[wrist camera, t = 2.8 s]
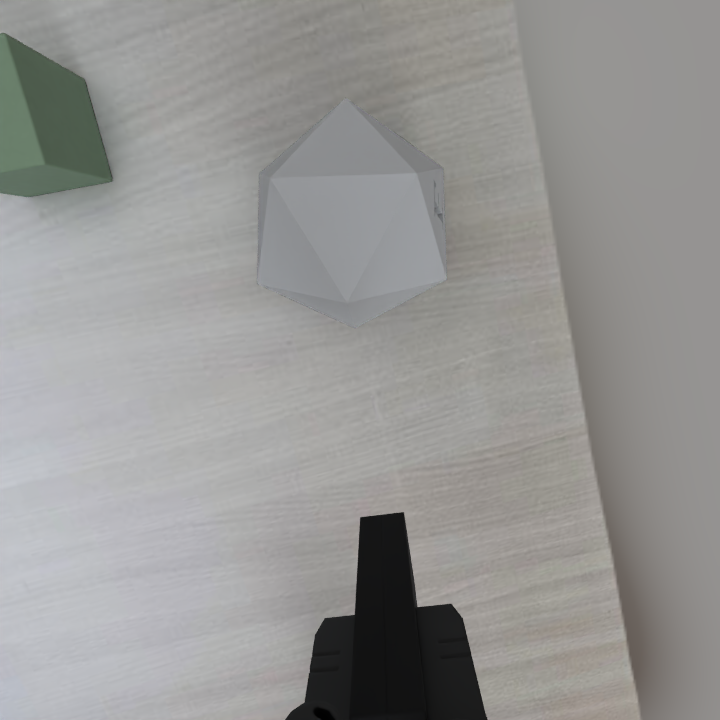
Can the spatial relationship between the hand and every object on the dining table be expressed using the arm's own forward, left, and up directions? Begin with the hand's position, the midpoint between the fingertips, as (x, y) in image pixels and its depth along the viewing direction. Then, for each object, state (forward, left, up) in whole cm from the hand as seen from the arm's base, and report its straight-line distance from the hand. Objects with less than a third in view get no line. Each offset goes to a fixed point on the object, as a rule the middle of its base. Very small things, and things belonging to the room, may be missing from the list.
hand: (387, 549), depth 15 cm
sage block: (+15, -18, -12) cm, 26 cm away
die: (0, -11, -12) cm, 16 cm away
